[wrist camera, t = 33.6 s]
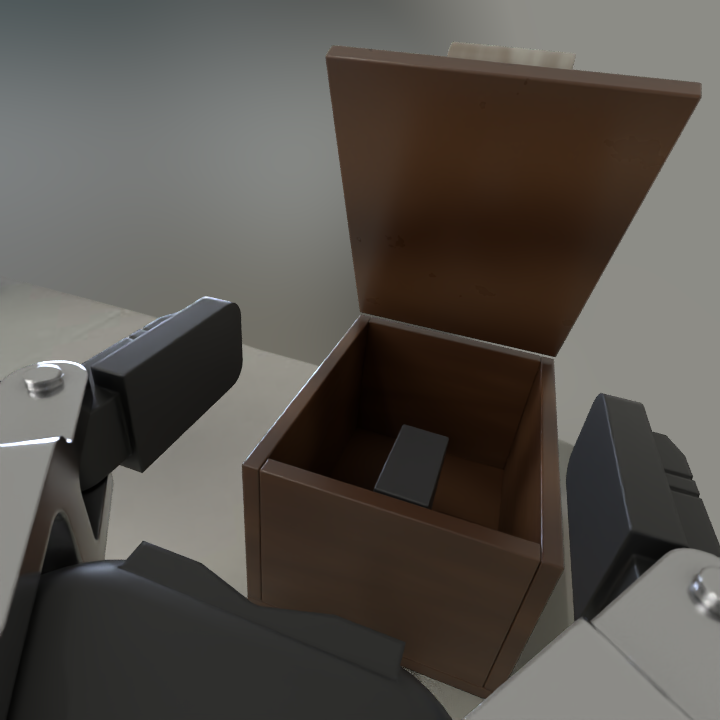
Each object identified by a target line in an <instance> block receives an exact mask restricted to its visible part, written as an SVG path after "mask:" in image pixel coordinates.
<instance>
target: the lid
mask: <svg viewBox="0 0 720 720" xmlns="http://www.w3.org/2000/svg"><path fill="white" fill-rule="evenodd" d="M325 58H326V65H327V73H328V80H329V87H330V95H331V102H332V109H333V117H334V124H335V132H336V138H337V146H338V154H339V161H340V168H341V176H342V183H343V190H344V198H345V205H346V212H347V220H348V227H349V235H350V242H351V249H352V257H353V264H354V271H355V279H356V286H357V293H358V301H359V308H360V312H362V313H366V314H371V315H375V316H379V317H384V318H388V319H392V320H397V321H401V322H405V323H410V324H414V325H418V326H423V327H427V328H431V329H436V330H440V331H444V332H449V333H453V334H458V335H462V336H466V337H470V338H475V339H479V340H483V341H488V342H492V343H497V344H501V345H505V346H509V347H514V348H518V349H522V350H527V351H531V352H536V353H540V354H544V355H548V356H553V357H556V356H557V354H558V352H559V350H560V348H561V347H562V345H563V343H564V341H565V340H566V338H567V336H568V334H569V332H570V331H571V329H572V327H573V325H574V324H575V322H576V320H577V318H578V316H579V315H580V313H581V311H582V309H583V308H584V306H585V304H586V302H587V300H588V299H589V297H590V295H591V293H592V291H593V290H594V288H595V286H596V284H597V282H598V281H599V279H600V277H601V276H602V274H603V272H604V270H605V268H606V267H607V265H608V263H609V261H610V260H611V258H612V256H613V254H614V252H615V250H616V248H617V247H618V245H619V243H620V242H621V240H622V238H623V236H624V234H625V233H626V231H627V229H628V227H629V226H630V224H631V222H632V220H633V218H634V217H635V215H636V213H637V211H638V210H639V208H640V206H641V204H642V203H643V201H644V199H645V197H646V195H647V194H648V192H649V190H650V188H651V186H652V184H653V183H654V181H655V179H656V177H657V176H658V174H659V172H660V171H661V168H662V167H663V165H664V163H665V162H666V160H667V158H668V156H669V155H670V153H671V151H672V149H673V147H674V146H675V144H676V142H677V140H678V138H679V137H680V135H681V133H682V131H683V130H684V127H685V126H686V124H687V122H688V120H689V119H690V117H691V115H692V114H693V112H694V110H695V108H696V106H697V104H698V103H699V101H700V99H701V96H702V91H701V90H702V84H701V83H698V82H689V81H678V80H669V79H659V78H650V77H639V76H630V75H620V74H610V73H600V72H591V71H580V70H572V69H573V65H574V61H575V53H566V52H555V51H545V50H534V49H524V48H513V47H502V46H491V45H481V44H470V43H460V42H452V44H451V46H450V48H449V51H448V55H447V57H444V56H434V55H425V54H415V53H404V52H394V51H385V50H376V49H365V48H356V47H346V46H335V45H333V46H331V48H330V49H329V51H328V53H327V54H326V57H325Z"/></svg>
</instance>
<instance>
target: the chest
mask: <svg viewBox="0 0 720 720" xmlns="http://www.w3.org/2000/svg"><path fill="white" fill-rule="evenodd" d="M554 374H555V372H554V359H551V358H547V357H541V356H539V355H534V354H530V353H526V352H522V351H517V350H513V349H509V348H504V347H500V346H496V345H491V344H487V343H483V342H478V341H474V340H470V339H465V338H461V337H457V336H453V335H448V334H444V333H440V332H435V331H431V330H427V329H422V328H418V327H414V326H409V325H405V324H400V323H396V322H392V321H388V320H384V319H379V318H375V317H372V318H371V317H370V316H365V315H360V316H359V318H358V319H357V320H356V321H355V323H354V324H353V325H352V326H351V328H350V329H349V330H348V331H347V333H346V334H345V335H344V336H343V338H342V339H341V340H340V341H339V343H338V344H337V345H336V347H335V348H334V349H333V350H332V352H331V353H330V354H329V356H328V357H327V358H326V359H325V360H324V362H323V363H322V364H321V365H320V367H319V368H318V369H317V370H316V372H315V373H314V374H313V376H312V377H311V378H310V379H309V381H308V382H307V383H306V384H305V386H304V387H303V388H302V389H301V391H300V392H299V393H298V394H297V396H296V397H295V398H294V399H293V401H292V402H291V403H290V404H289V406H288V407H287V408H286V410H285V411H284V412H283V413H282V415H281V416H280V417H279V418H278V420H277V421H276V422H275V423H274V425H273V426H272V427H271V428H270V430H269V431H268V432H267V433H266V435H265V436H264V437H263V438H262V440H261V441H260V442H259V444H258V445H257V446H256V447H255V449H254V450H253V451H252V452H251V454H250V455H249V456H248V457H247V459H246V460H245V461H244V462H243V464H242V479H243V501H244V523H245V546H246V568H247V591H248V600H249V601H251V602H252V603H254V604H256V605H259V606H263V607H272V608H280V609H289V610H298V611H307V612H315V613H324V614H333V615H337V616H339V617H342V618H344V619H347V620H350V621H352V622H355V623H357V624H360V625H362V626H365V627H368V628H370V629H373V630H375V631H378V632H381V633H383V634H386V635H388V636H391V637H393V638H396V639H399V640H401V641H404V642H406V644H405V648H404V652H403V656H402V660H401V664H400V666H402V667H405V668H408V669H410V670H413V671H415V672H418V673H420V674H423V675H425V676H428V677H430V678H433V679H435V680H438V681H440V682H443V683H445V684H448V685H451V686H453V687H456V688H458V689H461V690H463V691H466V692H468V693H471V694H473V695H476V696H478V697H481V698H483V699H486V698H487V697H488V696H489V695H490V694H492V693H493V692H494V691H495V690H496V689H497V688H499V687H500V686H501V685H502V684H503V683H504V682H505V681H507V680H508V678H509V676H510V675H511V673H512V671H513V669H514V667H515V665H516V663H517V661H518V659H519V657H520V655H521V653H522V651H523V649H524V647H525V645H526V643H527V641H528V639H529V637H530V635H531V633H532V631H533V629H534V627H535V625H536V623H537V621H538V619H539V617H540V615H541V614H542V612H543V610H544V608H545V606H546V604H547V602H548V600H549V598H550V596H551V594H552V592H553V590H554V588H555V586H556V584H557V582H558V580H559V578H560V576H561V574H562V572H563V570H564V553H563V533H562V513H561V493H560V473H559V452H558V432H557V412H556V392H555V375H554ZM404 424H405V425H408V426H412V427H415V428H418V429H422V430H425V431H429V432H432V433H435V434H439V435H442V436H445V437H448V438H449V442H448V446H447V450H446V454H445V458H444V462H443V466H442V470H441V474H440V478H439V482H438V486H437V490H436V494H435V498H434V502H433V506H432V510H430V509H427V508H424V507H421V506H418V505H414V504H411V503H408V502H405V501H402V500H399V499H395V498H392V497H389V496H386V495H383V494H380V493H376V492H373V491H374V487H375V484H376V482H377V480H378V478H379V476H380V474H381V471H382V469H383V467H384V465H385V463H386V460H387V458H388V456H389V454H390V452H391V450H392V447H393V445H394V443H395V441H396V439H397V436H398V434H399V432H400V430H401V428H402V426H403V425H404Z"/></svg>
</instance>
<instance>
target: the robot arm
mask: <svg viewBox="0 0 720 720" xmlns="http://www.w3.org/2000/svg"><path fill="white" fill-rule="evenodd" d="M241 334H242V333H241V312H240V309H239V307H238V305H237V304H236V303H232V302H228V301H224V300H220V299H216V298H212V297H207V296H206V297H203V298H201V299H199V300H197V301H196V302H194V303H193V304H191V305H189V306H188V307H186V308H184V309H183V310H181V311H179V312H176V313H173V314H170V315H166V316H163V317H160V318H158V319H156V320H155V321H153V322H151V323H149V324H148V325H146V326H144V327H143V330H140V329H139V330H138V331H136V332H134V333H133V334H131V335H129V338H124V339H123V340H121V341H119V342H118V343H116V344H114V345H113V346H111V347H109V348H108V349H106V350H104V351H103V352H101V353H99V354H98V355H96V356H94V357H93V358H91V359H89V360H87V361H86V362H84V363H82V364H81V365H79V364H77V363H74V362H69V361H48V362H41V363H36V364H32V365H29V366H26V367H23V368H21V369H18V370H16V371H14V372H13V373H11V374H9V375H8V376H6V377H5V378H4V379H3V380H2V381H0V720H452V718H451V717H450V715H449V714H448V713H447V711H446V710H445V708H444V707H443V706H442V705H441V704H440V702H439V701H438V700H437V699H436V698H435V697H434V695H433V694H432V693H431V692H430V691H429V690H428V689H427V688H426V687H425V686H424V685H423V684H422V683H421V682H420V681H419V680H418V679H416V678H415V677H414V676H413V675H412V674H410V673H409V672H408V671H406V670H405V669H404V668H402V667H401V666H400V664H401V660H402V656H403V652H404V648H405V644H406V642H404V641H401V640H399V639H396V638H393V637H391V636H388V635H386V634H383V633H381V632H378V631H375V630H373V629H370V628H368V627H365V626H362V625H360V624H357V623H355V622H352V621H350V620H347V619H344V618H342V617H339V616H337V615H333V614H324V613H315V612H307V611H298V610H289V609H280V608H272V607H263V606H259V605H256V604H254V603H252V602H251V601H249V600H248V599H247V598H245V597H244V596H243V595H242V594H240V593H239V592H238V591H236V590H235V589H234V588H233V587H231V586H230V585H229V584H227V583H226V582H225V581H224V580H222V579H221V578H220V577H218V576H217V575H216V574H215V573H213V572H212V571H211V570H209V569H208V568H207V567H206V566H204V565H203V564H202V563H200V562H197V561H194V560H192V559H189V558H187V557H184V556H182V555H179V554H176V553H174V552H171V551H169V550H166V549H163V548H161V547H158V546H156V545H153V544H151V543H148V542H145V541H142V543H141V544H140V545H139V546H138V547H137V548H136V549H135V551H134V552H133V553H132V554H131V555H130V556H129V557H128V558H127V560H105V550H106V541H107V533H108V525H109V517H110V508H111V500H112V492H113V477H112V473H111V472H112V471H113V470H114V469H115V468H116V467H118V466H119V465H121V466H124V467H127V468H130V469H133V470H136V471H139V472H141V473H143V472H144V471H145V470H146V469H147V468H148V467H149V466H150V465H151V464H152V463H153V462H154V461H155V460H156V459H157V458H158V457H159V456H160V455H161V454H163V453H164V452H165V451H166V450H167V449H168V448H169V447H170V446H171V445H172V444H173V443H174V442H175V441H176V440H177V439H178V438H179V437H180V436H181V435H182V434H183V433H184V432H185V431H186V430H188V429H189V428H190V427H191V426H192V425H193V424H194V423H195V422H196V421H197V420H198V419H199V418H200V417H201V416H202V415H203V414H204V413H205V412H206V411H207V410H208V409H209V408H210V407H211V406H213V405H214V404H215V403H216V402H217V401H218V400H219V399H220V398H221V397H222V396H223V395H224V394H225V393H226V392H227V391H228V390H229V389H230V388H231V387H232V386H233V385H234V384H235V383H236V381H237V380H238V378H239V375H240V373H241V369H242V362H243V358H242V335H241ZM692 478H693V475H692V473H691V470H690V468H689V465H688V463H687V460H686V457H685V456H684V454H683V453H682V452H681V451H680V450H679V449H678V448H677V447H676V446H675V444H674V443H673V442H672V441H671V440H670V439H669V438H668V437H667V436H666V435H663V434H659V433H655V432H652V430H651V427H650V424H649V421H648V418H647V415H646V411H645V408H644V406H643V404H641V403H640V402H635V401H631V400H627V399H623V398H619V397H615V396H611V395H606V394H603V393H600V394H599V395H598V396H597V397H596V399H595V400H594V402H593V404H592V407H591V409H590V412H589V414H588V416H587V418H586V421H585V423H584V426H583V428H582V430H581V432H580V435H579V437H578V439H577V441H576V444H575V446H574V448H573V451H572V453H571V456H570V459H569V463H568V468H567V475H566V489H567V505H568V522H569V538H570V555H571V571H572V588H573V604H574V621H575V622H573V623H572V624H571V625H570V626H569V627H567V628H566V629H565V630H564V631H563V632H562V633H561V634H559V635H558V636H557V637H556V638H555V639H554V640H553V641H551V642H550V643H549V644H548V645H547V646H546V647H544V648H543V649H542V650H541V651H540V652H539V653H538V654H536V655H535V656H534V657H533V658H532V659H531V660H530V661H528V662H527V663H526V664H525V665H524V666H523V667H522V668H520V669H519V670H518V671H517V672H516V673H515V674H513V675H512V676H511V677H510V678H509V679H508V680H507V681H505V682H504V683H503V684H502V685H501V686H500V687H499V688H497V689H496V690H495V691H494V692H493V693H492V694H490V695H489V696H488V697H487V698H486V699H485V700H484V701H482V702H481V703H480V704H479V705H478V706H477V707H476V708H474V709H473V710H472V711H471V712H470V713H469V714H468V715H466V716H465V717H464V718H463V719H462V720H720V545H719V542H718V540H717V537H716V535H715V532H714V529H713V527H712V524H711V522H710V520H709V517H708V514H707V512H706V509H705V506H704V504H703V501H702V499H700V498H699V495H700V493H699V491H698V489H697V486H696V483H695V481H693V480H692Z"/></svg>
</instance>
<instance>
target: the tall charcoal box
mask: <svg viewBox="0 0 720 720" xmlns="http://www.w3.org/2000/svg"><path fill="white" fill-rule="evenodd" d="M448 442H449V438H448V437H445V436H442V435H439V434H435V433H432V432H429V431H425V430H422V429H418V428H415V427H412V426H408V425H405V424H404V425H403V426H402V428H401V430H400V432H399V434H398V436H397V439H396V441H395V443H394V445H393V447H392V450H391V452H390V454H389V456H388V458H387V460H386V463H385V465H384V467H383V469H382V471H381V474H380V476H379V478H378V480H377V482H376V484H375V487H374V491H373V492H376V493H380V494H383V495H386V496H389V497H392V498H395V499H399V500H402V501H405V502H408V503H411V504H414V505H418V506H421V507H424V508H427V509H430V510H432V506H433V502H434V498H435V494H436V490H437V486H438V482H439V478H440V474H441V470H442V466H443V462H444V458H445V454H446V450H447V446H448Z"/></svg>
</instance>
